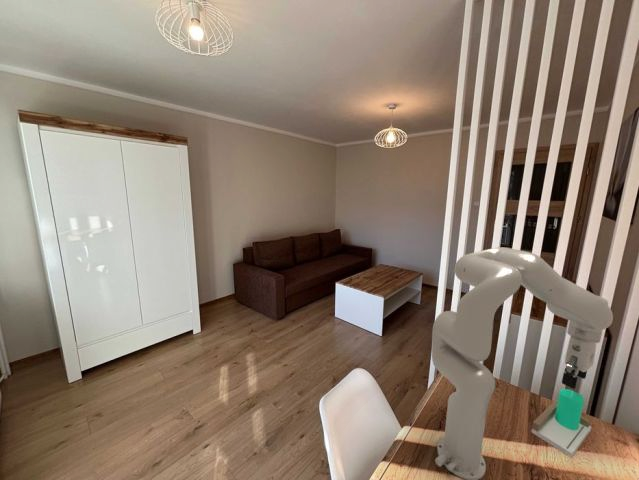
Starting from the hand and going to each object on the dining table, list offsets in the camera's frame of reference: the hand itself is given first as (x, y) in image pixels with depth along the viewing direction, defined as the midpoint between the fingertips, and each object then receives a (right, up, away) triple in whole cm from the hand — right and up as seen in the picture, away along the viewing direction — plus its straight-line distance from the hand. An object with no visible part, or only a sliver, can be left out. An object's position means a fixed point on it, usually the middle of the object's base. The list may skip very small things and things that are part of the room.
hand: (573, 380), depth 87 cm
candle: (0, -16, +3) cm, 16 cm away
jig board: (-3, -17, +1) cm, 18 cm away
